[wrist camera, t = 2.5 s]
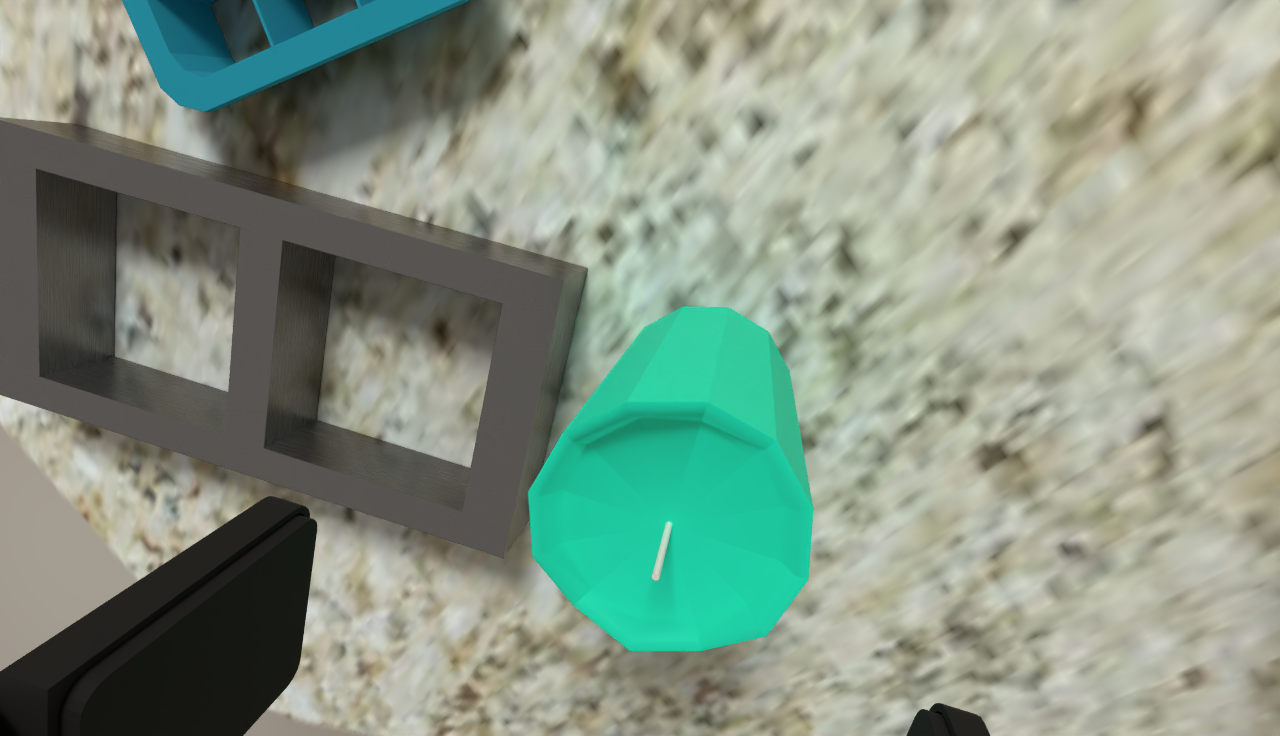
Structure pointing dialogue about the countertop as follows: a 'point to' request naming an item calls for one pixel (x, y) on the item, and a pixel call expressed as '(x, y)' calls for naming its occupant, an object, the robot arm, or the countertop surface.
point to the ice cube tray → (210, 79)
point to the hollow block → (269, 329)
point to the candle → (681, 490)
